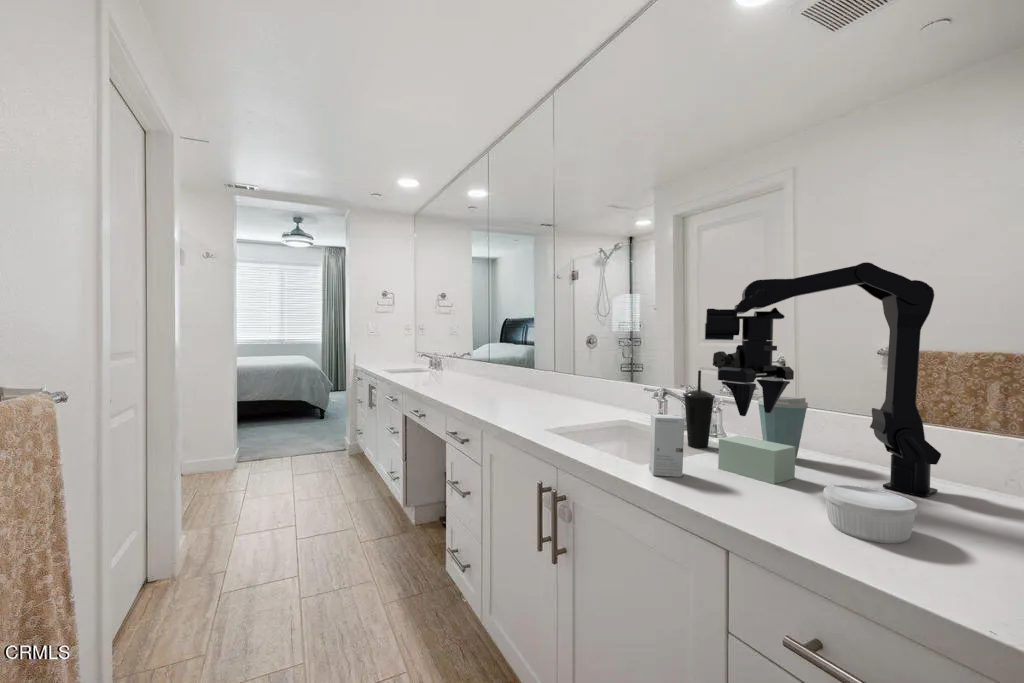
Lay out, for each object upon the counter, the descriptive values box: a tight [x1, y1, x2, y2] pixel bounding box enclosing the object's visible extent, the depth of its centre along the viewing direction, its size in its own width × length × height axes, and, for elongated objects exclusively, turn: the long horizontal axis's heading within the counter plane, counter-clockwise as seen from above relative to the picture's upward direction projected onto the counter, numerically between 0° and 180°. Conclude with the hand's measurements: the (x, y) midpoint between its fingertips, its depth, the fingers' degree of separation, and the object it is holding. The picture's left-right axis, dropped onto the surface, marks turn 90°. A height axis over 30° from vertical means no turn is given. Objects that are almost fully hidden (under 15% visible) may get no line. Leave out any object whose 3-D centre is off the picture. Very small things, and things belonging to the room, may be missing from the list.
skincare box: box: [648, 413, 685, 478], centre depth 95 cm, size 6×4×12 cm
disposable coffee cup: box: [757, 396, 809, 460], centre depth 109 cm, size 11×11×15 cm
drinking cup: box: [683, 370, 716, 450], centre depth 119 cm, size 8×8×20 cm
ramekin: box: [823, 484, 919, 544], centre depth 68 cm, size 11×11×5 cm
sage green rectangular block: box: [717, 434, 796, 485], centre depth 96 cm, size 8×12×6 cm, turn 31°
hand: (755, 414), depth 96 cm, fingers open, 9 cm apart
